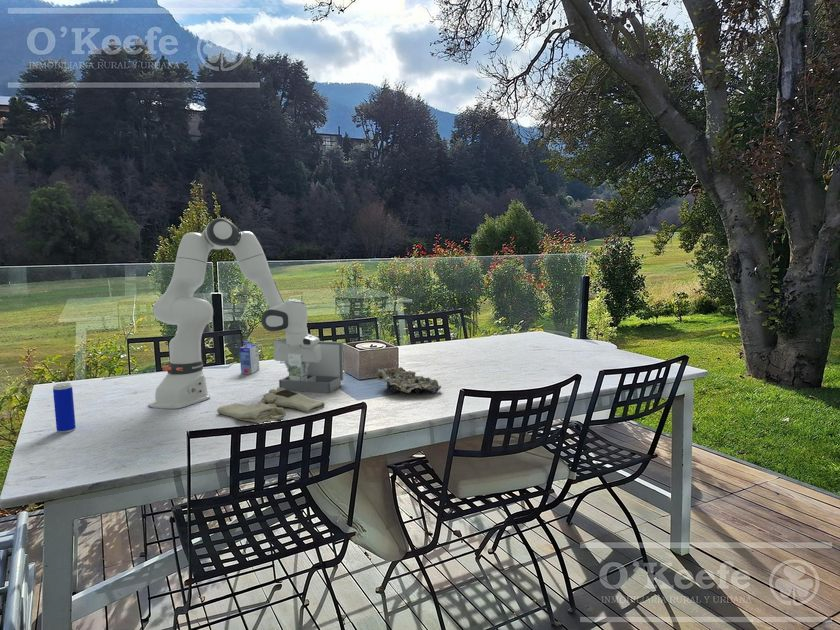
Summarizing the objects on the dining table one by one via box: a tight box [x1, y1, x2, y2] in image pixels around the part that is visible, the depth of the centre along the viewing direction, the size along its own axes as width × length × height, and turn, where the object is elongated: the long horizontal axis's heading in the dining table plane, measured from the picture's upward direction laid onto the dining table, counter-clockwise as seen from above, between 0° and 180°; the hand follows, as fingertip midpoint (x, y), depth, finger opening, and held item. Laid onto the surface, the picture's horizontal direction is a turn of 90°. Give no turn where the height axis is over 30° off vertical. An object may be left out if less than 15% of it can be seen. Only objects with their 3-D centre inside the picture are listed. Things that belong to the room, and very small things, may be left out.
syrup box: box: [288, 354, 307, 381], centre depth 233 cm, size 6×6×14 cm
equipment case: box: [278, 340, 344, 394], centre depth 233 cm, size 14×22×18 cm, turn 76°
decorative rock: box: [376, 365, 442, 394], centre depth 228 cm, size 22×26×10 cm
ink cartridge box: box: [239, 339, 260, 375], centre depth 261 cm, size 10×6×14 cm, turn 174°
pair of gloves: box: [216, 386, 325, 424], centre depth 201 cm, size 30×26×5 cm
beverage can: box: [52, 382, 77, 434], centre depth 180 cm, size 5×5×15 cm
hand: (298, 372), depth 233 cm, fingers closed on syrup box, 6 cm apart
